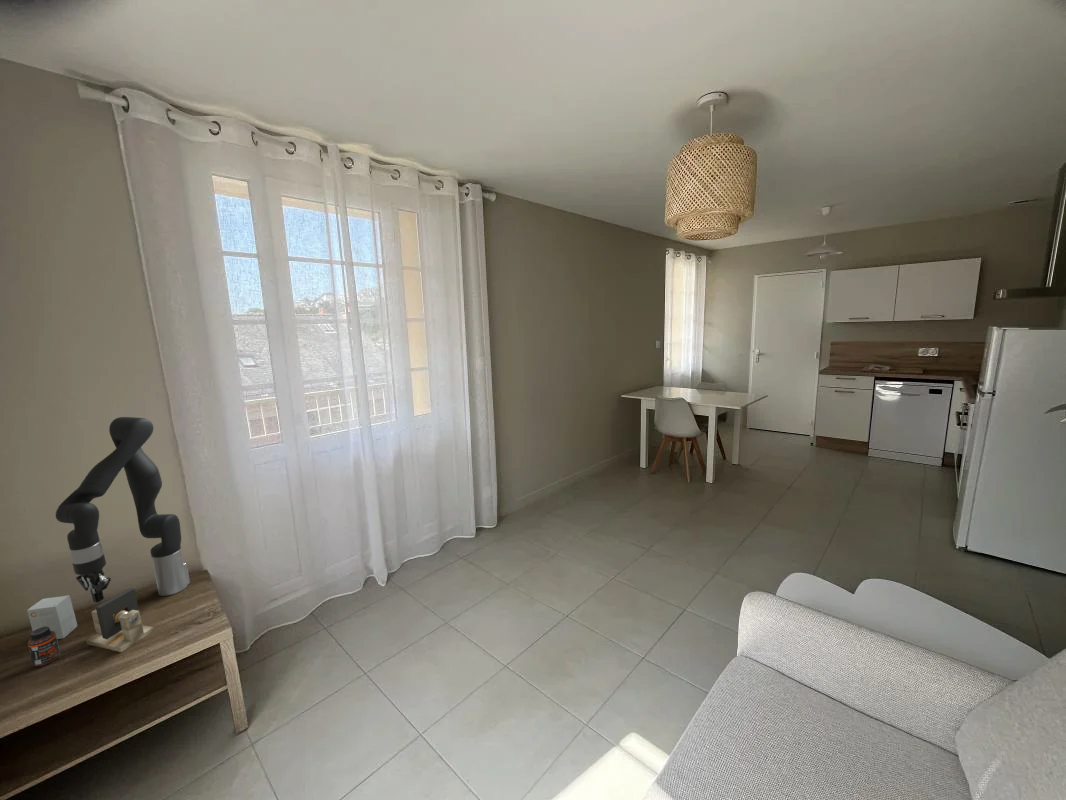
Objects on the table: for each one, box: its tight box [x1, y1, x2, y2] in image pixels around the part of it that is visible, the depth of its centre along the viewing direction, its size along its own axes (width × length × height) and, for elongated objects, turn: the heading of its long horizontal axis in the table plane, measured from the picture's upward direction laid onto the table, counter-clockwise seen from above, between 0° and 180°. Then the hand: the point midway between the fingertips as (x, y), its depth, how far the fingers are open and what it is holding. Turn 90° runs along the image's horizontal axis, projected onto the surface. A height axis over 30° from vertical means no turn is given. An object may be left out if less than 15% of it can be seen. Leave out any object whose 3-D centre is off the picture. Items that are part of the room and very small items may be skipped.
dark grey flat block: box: [95, 587, 140, 639], centre depth 144 cm, size 10×2×12 cm, turn 167°
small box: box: [26, 595, 78, 640], centre depth 146 cm, size 8×6×13 cm
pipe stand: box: [85, 608, 155, 653], centre depth 145 cm, size 10×16×11 cm, turn 77°
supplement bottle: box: [27, 626, 61, 667], centre depth 135 cm, size 6×6×11 cm
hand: (98, 600), depth 145 cm, fingers closed
